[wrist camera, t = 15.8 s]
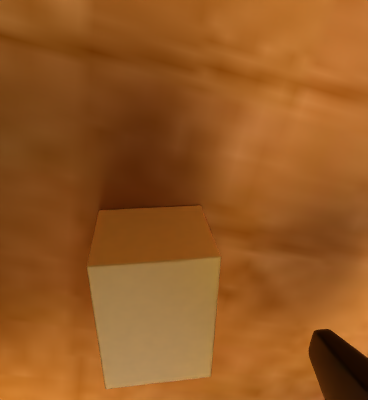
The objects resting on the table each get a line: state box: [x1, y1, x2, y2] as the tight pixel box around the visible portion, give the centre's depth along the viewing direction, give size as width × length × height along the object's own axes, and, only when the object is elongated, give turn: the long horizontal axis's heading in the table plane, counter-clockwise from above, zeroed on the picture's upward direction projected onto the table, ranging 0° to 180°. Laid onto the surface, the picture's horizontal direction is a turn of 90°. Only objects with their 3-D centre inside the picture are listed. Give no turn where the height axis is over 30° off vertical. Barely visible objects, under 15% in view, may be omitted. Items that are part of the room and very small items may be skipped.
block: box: [87, 205, 221, 389], centre depth 11 cm, size 5×4×3 cm
